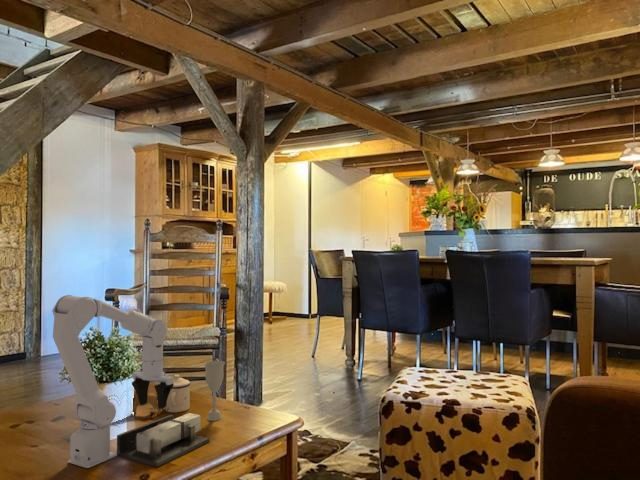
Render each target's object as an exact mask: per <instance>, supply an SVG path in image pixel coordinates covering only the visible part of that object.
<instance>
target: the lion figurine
mask: <svg viewBox="0 0 640 480" xmlns="http://www.w3.org/2000/svg"><path fill="white" fill-rule="evenodd" d="M133 391H134V398H133V409H132V412H134V415H136V416H137V408H138V407H145V406H147V405H149V404H150V405H151V407H152V409H150V410H149V413H154V412H155V411H156V410H157V411H158V412H156V415H157V416H158V415H161V413H162V411H163V412H166V409H164V408H162V409H159V408H158V398H157V393H156V394H155V393H149V394H148V397H147V403H146V404H144V405H140V403H139V400H138V396H137V393H136V391H135V390H133Z"/></svg>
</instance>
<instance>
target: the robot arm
mask: <svg viewBox="0 0 640 480" xmlns="http://www.w3.org/2000/svg"><path fill="white" fill-rule="evenodd" d="M51 312H52V314H53V318H54V319H53V327H52V339H53V341H54V343H55V346H56V348H57V351H58V354H59V355H60V357H61V361H62V362H63V365H64V367H65V369H66V372H67V375H68V377H69V380H70V381H71V384H72V386H73V389H74V391H75V393H76V396H75V398H74V400H73V402H74V403H75V415H76V417H77V419H78V420H80V421H79V424H80V428H78V429H77V430H76V431H74V432H72V434H71V435H70V439H69V459H68V460H67V463H70V464H73V465H75V466H78V467H82V468H85V469H90V468H92V467H94V466H96V465H99V464H101V463H104V462H106V461H108V460H111V459H113V458H115V457H118V456H117V452H116V453H115V452H112V451H111V425H112V422H113V421H114V419H115V417H116V414H117V408H116V406H115V404H114V403H113V402H112V401H110V400H109V398H108V396H107V395H106V394H105V393H104V391H102V390H101V389H100V387H99V385H98V382H97V380H96V377H95V375H94V373H93V370H92V367H91V365H90V363H89V360H88V358H87V355H86V353H85V351H84V347H83V345H82V343H81V339H80V337H79V335H80V334H81V332H82V331H83V330H84V329H85V328H86V327H87V326H88V325H89V323H91V321H92V320H93V319H94V318H98V317H103V318H106V319H109V320H111V321H115V322H118V323H120V327H121V328H122V329H124V330H126V331H128V332H131V333H135V334H137V335H139V336H140V337H141V338H142V360H141V361H142V364H141V365H142V366H141V368H142V370H141V371H139V370H138V371H134V372H132V379H133V380H132V382H131V385H132V387H133V388H134V391H136V393H137V396H138V400H139V403H140V405H144V404H146V403H147V397H148V392H149V386H150V383H151V382H153V383H158V384H155V385H154V390H155V392H156V395H157V398H158V400H157V404H158V408H159V409H161V410H162V408H163V409H164V408H165V406H166V402H167V399H168V396H169V393H170V391H171V389H172V387H173V386H174V383H173V378H174V376H170V375H167V374H165V371H164V369H163V368H164V365H163V364H164V362H163V361H164V346H163V345H164V342H165V337H166V335H167V333H168V327H167V326H166V323H165V322H164V321H163V320H162V319H157V318H153V315H152V314H151V315H150V314H144V313H142V312H141V310H140V309H139V308H138V309H137V308H132V309H128V310H125V311H124V310H123V309H120V308H118V307H116V306H114V305H112V304H110V303H107V302H106V301H103V300H101V299H97V298H92V297H89V296H76V295H75V296H73V295H70V294H66V295H63V296H61V297H60V298H59V299H58V300H57V302H55V305H54V307H53V308H52V311H51Z"/></svg>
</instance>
